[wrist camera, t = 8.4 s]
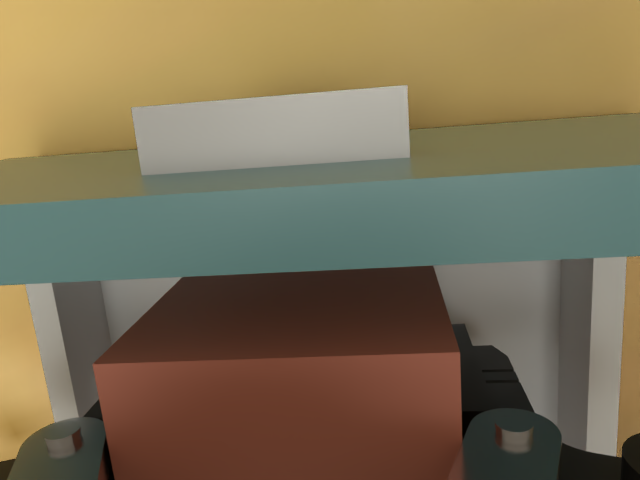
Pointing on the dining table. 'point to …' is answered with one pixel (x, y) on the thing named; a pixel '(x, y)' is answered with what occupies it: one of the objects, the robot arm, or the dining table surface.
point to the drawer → (342, 230)
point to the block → (287, 379)
